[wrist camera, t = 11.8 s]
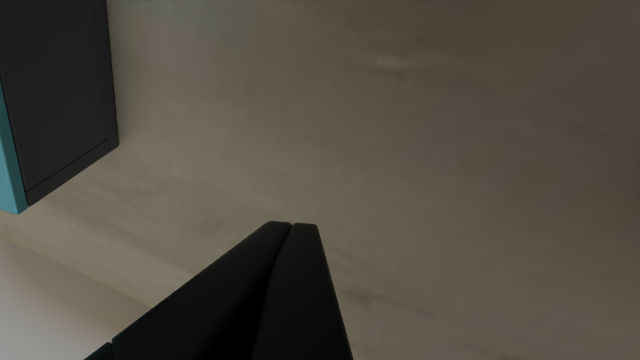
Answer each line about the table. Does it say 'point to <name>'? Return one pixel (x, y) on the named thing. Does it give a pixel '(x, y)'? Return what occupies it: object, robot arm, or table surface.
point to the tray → (56, 88)
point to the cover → (9, 167)
